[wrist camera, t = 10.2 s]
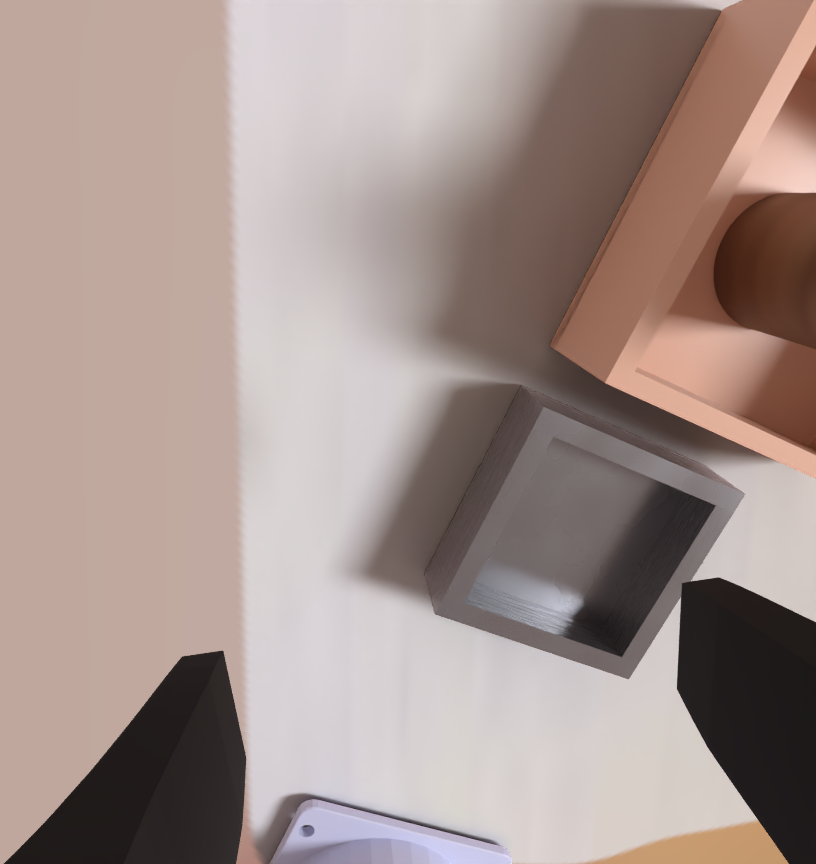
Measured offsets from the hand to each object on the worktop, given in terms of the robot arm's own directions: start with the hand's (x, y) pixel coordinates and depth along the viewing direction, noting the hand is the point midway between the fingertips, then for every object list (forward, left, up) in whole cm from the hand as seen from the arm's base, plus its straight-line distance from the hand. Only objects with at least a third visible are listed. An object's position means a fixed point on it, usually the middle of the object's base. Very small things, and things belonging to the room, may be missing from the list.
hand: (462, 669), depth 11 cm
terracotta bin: (+9, -7, -9) cm, 15 cm away
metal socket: (0, -6, -9) cm, 11 cm away
